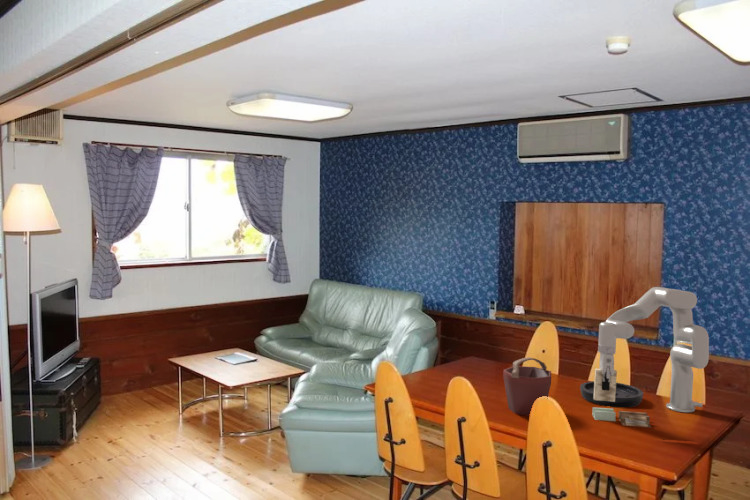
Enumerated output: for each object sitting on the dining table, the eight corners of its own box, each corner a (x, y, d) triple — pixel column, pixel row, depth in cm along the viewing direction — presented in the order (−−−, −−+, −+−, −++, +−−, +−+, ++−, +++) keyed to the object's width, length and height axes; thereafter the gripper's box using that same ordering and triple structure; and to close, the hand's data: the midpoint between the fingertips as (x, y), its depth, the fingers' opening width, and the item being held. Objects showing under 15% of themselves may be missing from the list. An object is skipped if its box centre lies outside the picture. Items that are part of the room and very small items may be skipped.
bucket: (518, 420, 285) (520, 366, 283) (491, 405, 305) (492, 355, 304) (561, 414, 295) (563, 361, 293) (532, 400, 315) (534, 351, 313)
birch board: (613, 400, 288) (615, 370, 287) (615, 401, 286) (616, 371, 285) (593, 398, 290) (595, 368, 289) (594, 400, 287) (596, 369, 286)
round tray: (583, 406, 308) (648, 411, 302) (584, 394, 308) (649, 399, 302) (576, 389, 338) (635, 393, 332) (577, 378, 337) (636, 382, 331)
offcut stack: (645, 424, 280) (646, 416, 280) (647, 426, 277) (648, 419, 277) (624, 422, 281) (625, 415, 281) (626, 425, 278) (626, 417, 278)
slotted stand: (612, 417, 291) (612, 408, 291) (615, 423, 284) (616, 413, 283) (591, 416, 293) (592, 406, 293) (594, 421, 285) (595, 412, 285)
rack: (645, 422, 286) (646, 412, 286) (651, 429, 276) (651, 419, 276) (618, 420, 288) (618, 410, 288) (622, 427, 278) (623, 417, 278)
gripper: (619, 353, 278) (617, 394, 279) (611, 346, 293) (609, 385, 295) (601, 352, 279) (599, 393, 280) (595, 345, 295) (593, 383, 296)
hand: (604, 388), depth 287 cm, fingers closed on birch board, 2 cm apart
